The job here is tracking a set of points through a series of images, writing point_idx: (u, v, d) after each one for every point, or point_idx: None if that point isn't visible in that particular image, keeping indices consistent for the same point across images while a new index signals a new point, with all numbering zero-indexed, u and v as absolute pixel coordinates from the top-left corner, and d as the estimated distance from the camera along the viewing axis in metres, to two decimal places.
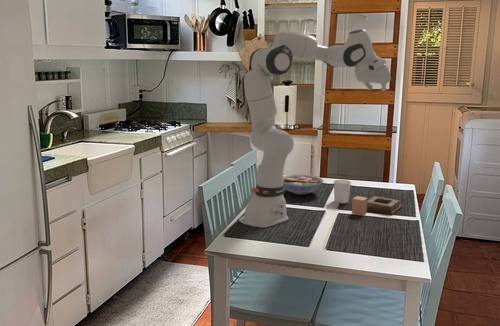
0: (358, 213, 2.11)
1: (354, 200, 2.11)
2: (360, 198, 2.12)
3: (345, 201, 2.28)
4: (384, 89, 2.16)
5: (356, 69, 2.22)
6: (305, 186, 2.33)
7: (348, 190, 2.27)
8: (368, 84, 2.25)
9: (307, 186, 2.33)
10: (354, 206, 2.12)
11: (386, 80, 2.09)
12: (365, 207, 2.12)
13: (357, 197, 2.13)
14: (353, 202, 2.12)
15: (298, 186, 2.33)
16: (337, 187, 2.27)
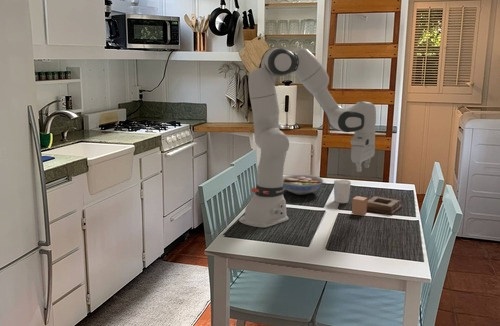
0: (358, 213, 2.11)
1: (354, 200, 2.11)
2: (360, 198, 2.12)
3: (345, 201, 2.28)
4: (358, 170, 2.06)
5: None
6: (305, 186, 2.33)
7: (348, 190, 2.27)
8: (367, 162, 2.14)
9: (307, 186, 2.33)
10: (354, 206, 2.12)
11: (353, 159, 2.01)
12: (365, 207, 2.12)
13: (357, 197, 2.13)
14: (353, 202, 2.12)
15: (298, 186, 2.33)
16: (337, 187, 2.27)
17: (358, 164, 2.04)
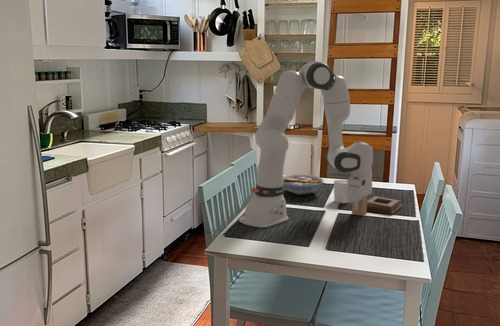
0: (358, 213, 2.11)
1: None
2: None
3: (345, 201, 2.28)
4: (355, 208, 2.10)
5: None
6: (305, 186, 2.33)
7: None
8: None
9: (307, 186, 2.33)
10: None
11: (349, 199, 2.04)
12: (365, 207, 2.12)
13: None
14: None
15: (298, 186, 2.33)
16: (337, 187, 2.27)
17: (356, 203, 2.08)
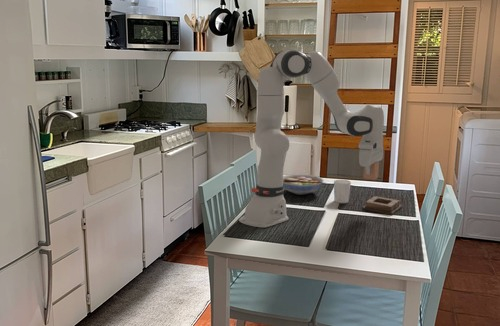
0: (370, 177, 2.10)
1: None
2: None
3: (345, 201, 2.28)
4: (367, 172, 2.09)
5: None
6: (305, 186, 2.33)
7: (348, 190, 2.27)
8: None
9: (307, 186, 2.33)
10: None
11: (360, 163, 2.04)
12: (377, 171, 2.11)
13: None
14: None
15: (298, 186, 2.33)
16: (337, 187, 2.27)
17: (367, 167, 2.08)
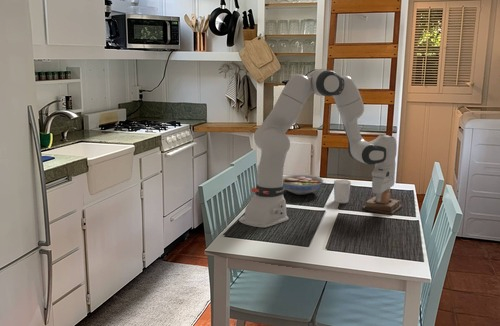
0: None
1: None
2: (383, 192, 2.19)
3: (345, 201, 2.28)
4: (378, 200, 2.15)
5: None
6: (305, 186, 2.33)
7: (348, 190, 2.27)
8: None
9: (307, 186, 2.33)
10: None
11: (373, 190, 2.11)
12: (388, 200, 2.19)
13: None
14: None
15: (298, 186, 2.33)
16: (337, 187, 2.27)
17: (378, 194, 2.14)
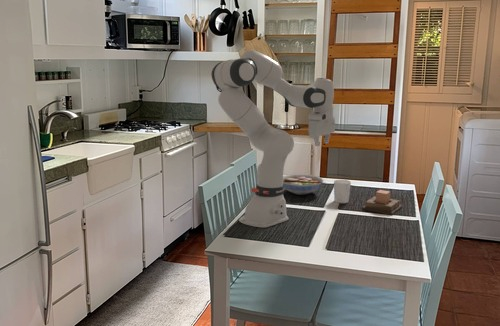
0: None
1: (377, 194, 2.18)
2: (383, 192, 2.19)
3: (345, 201, 2.28)
4: (316, 144, 2.14)
5: None
6: (305, 186, 2.33)
7: (348, 190, 2.27)
8: (327, 137, 2.22)
9: (307, 186, 2.33)
10: (378, 200, 2.19)
11: (310, 133, 2.10)
12: (388, 200, 2.19)
13: (380, 191, 2.20)
14: (376, 195, 2.19)
15: (298, 186, 2.33)
16: (337, 187, 2.27)
17: (316, 138, 2.13)
